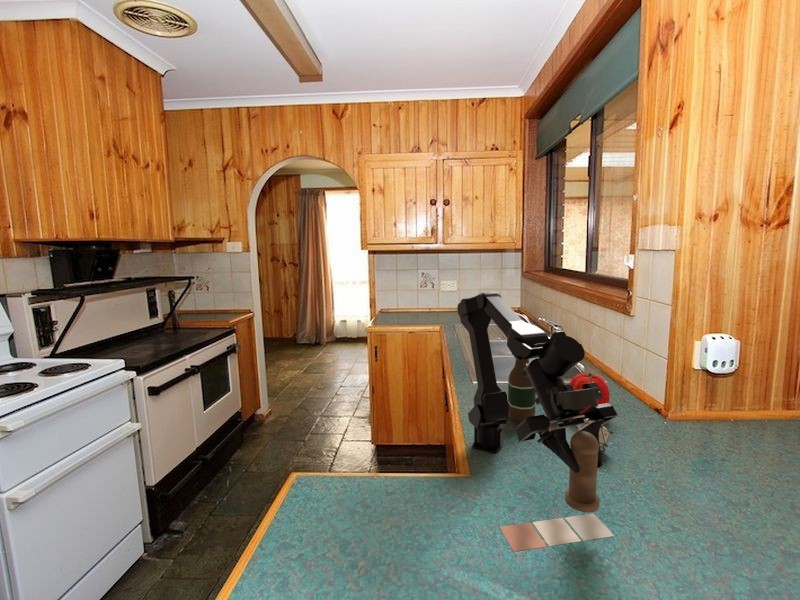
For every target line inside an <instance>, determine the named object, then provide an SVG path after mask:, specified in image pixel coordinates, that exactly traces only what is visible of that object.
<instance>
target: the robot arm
mask: <svg viewBox="0 0 800 600" xmlns="http://www.w3.org/2000/svg"><path fill="white" fill-rule="evenodd" d="M456 309H457V311H456V312H457V314H458V316H459V319H460V323H461V324H462V326H463V327H464V329H465V330H467V332H468V335H469V342H470V348H471V353H472V358H473V359H472V360H473V365H474V371H475V378H476V383H477V389H476V391H475V393H474V397H473V407H472V408H471V410H469V412H468V413H467V415H468V421H469V423H470V424H471V425H472V426H473V429H474V430H473V432H474V433H473V441H474V442H473V443H472V445H471V447H472V448H474V449H477V450H481V451H486V452H489V453H493V454H496V453H497V452H498V451H499V450H500V449H501V448H502V447H503V444H504V428H502V425H507V423H508V419H509V412H510V408H509V404H508V393H507V391H505V390H504V391H503V390H502V389H501V387H499V385H498V383H497V378H496V377H497V376H496V370H495V366H494V359H493V355H492V348H491V342H490V337H489V331H488V328H489V326H490V324H491V321H492V322H494V324H495V325H496V326H497V327H498V328H499V330H501V331H502V332H503V335H505V337H506V346H507V348H508V350H509V351H510V353H511V354H512V356H513V357H514V358H515V360H516V359H517V360H525V359H529V360H530V359H531V361H529V363H528V364H524V370H523V371H522V377H529V378H530V381H531V383H532V385H533V387H534V390H535V392H536V399H535V404H536V405H541V407H542V409H543V412H544V414H538V415H535V416H531V417H527V418H526V419H525V420H523V421H522V422H521V423H518V424H517V426H516V427H515V428H516V429H515V434H516V437H517V440H518V441H519V442H520V443H523V442H528V441H533V440H534V439H535V438H536V435H537V434H538V435H539V439H537V440H536V442H537V443H538V444H543V446H545V447H546V448H547V449H548V450H550V451H551V452H552V453H553V454H555V455H556V457H558V458H559V459H560V460H561V461H562V462H563V463H564V464H565V465H566V466H568V468H569V470H570V469H571V470H572V471H573V472H574V473H578V472H580V470H579V467H578V464H577V461H576V459H575V457H574V455H573V453H572V451H571V446H570V443H569V442H568V440H567V432H566V430H567V429H566V428H570V427H574V426H576V427H577V431H578V429H579V431H586V432H589V433H591V434H592V435H593V436H594V437H595V438H596V439H597V441H598V444H599V430H600V427H601V426H602V425H603V426H604V425H606V424H607V423H609V422H610V421H612V420H614V419H615V418H617V417H619V414H618V412H617V410H616V409H615V407H614V405H612V404H610V403H609V404H608V403H605V404H599V405H598V403H597V400H601V399H602V398H603V395H602V391H601V389H600V388H599V386H598V385H597V383H596V382H593V383H586V384H583V389H582V390H574V389H573V387H572V386H571V385H570V384H569V383H568V384H565V382H564V379H563V378H562V377H564V376H566V375H567V374H568V373H569V372H571V371H572V370H573V369H574V368H575V367H576V366H577V365H578V364H580V363H581V362H582V361H583V359H584V358H585V354H586V353H585V349H584V346H583V345H582V343H580V342H579V341H578V340H576V339H575V338H573V337H571V336H568V335H567V334H566V332H565V331H564V330H559V331H554V332H553V333H551V336H550V337H549V336H548V334H547V333H546V332H545V331H544V330H542V328H540V327H538V326H536V325H534V324H532V323H528V322H526V321H524V320H523V319H522V318H521V317H520V316H519V315H518V314H517V313H516V312H515V311H514V310H513V309H512V307H510V306H509V305H508V304H507V303H506V302H505V300H504V299H502V296H501V294H500V293H499V292H496V291H490V292H481V293H478V294H477V295H475V296H473V297H469V298H462V299H461V300H460V302H458V304H457V307H456ZM532 359H533V360H532ZM590 406H592V407H590ZM586 407H590V408H589V409H587V410H586V411H585V412H583V413H581V414H580V413H579V412H580V411H583V410H585V409H586ZM579 431H578V432H579ZM601 467H603V461H602V452H601V448H600V444H599V450H598V464H597V469H599V468H601Z"/></svg>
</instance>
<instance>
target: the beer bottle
mask: <svg viewBox="0 0 800 600" xmlns="http://www.w3.org/2000/svg"><path fill="white" fill-rule="evenodd" d="M528 363H530V359H525V360H517V359H516V358H515V363H514V367H513V368H512V369H511V371H510V372H509V375H508V380H507V382H508V383H507V387H508V388H507V400H508V404H509V408H510V412H509V416H508V418H509V419H510V420H511V421H512V422H515V423H518V424H520V423H521V422H522V421H523V420H525V419H526V418H527V417H531V416H536V401H535V399H536V398H537V394H536V392H535V390H534V387H533V385H532V383H531V381H530V378H529V377H522V371H523V370H524V364H528Z"/></svg>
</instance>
